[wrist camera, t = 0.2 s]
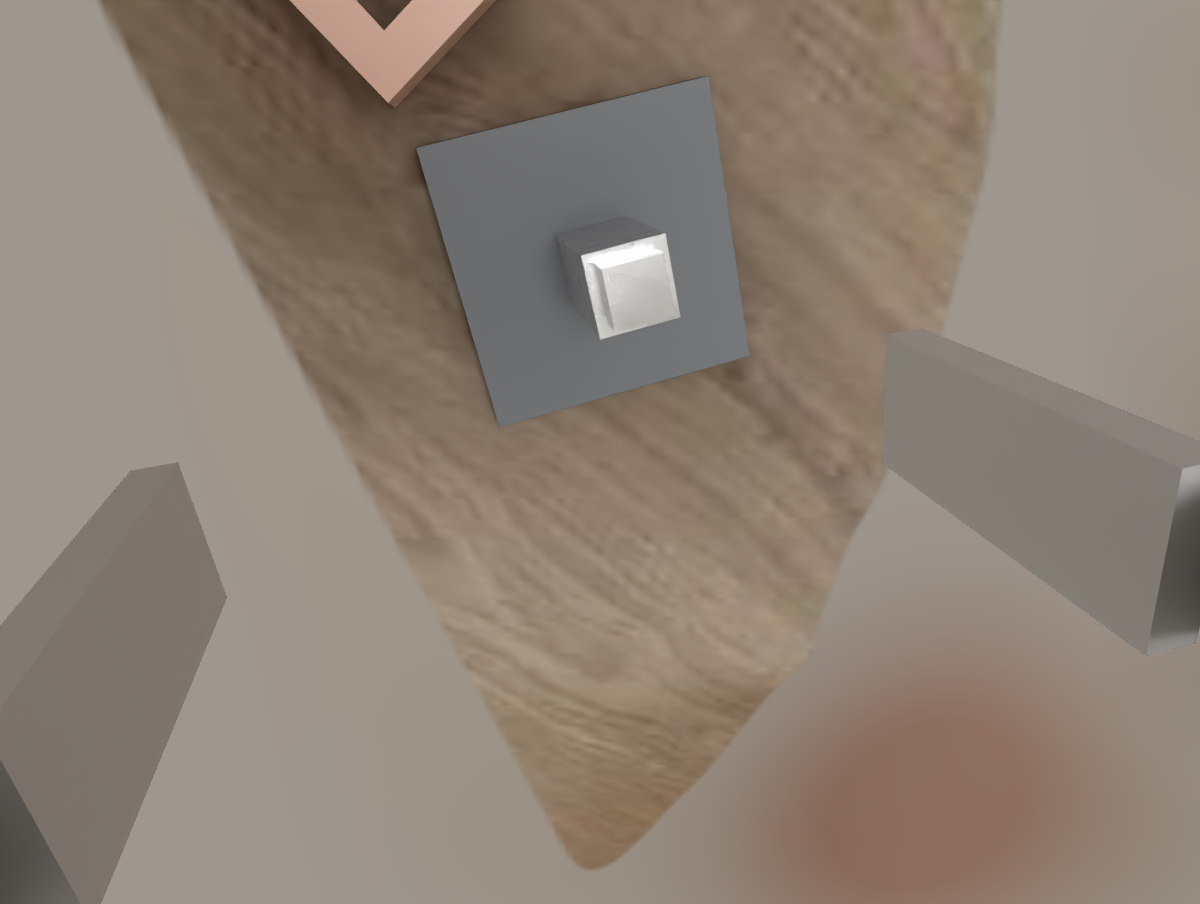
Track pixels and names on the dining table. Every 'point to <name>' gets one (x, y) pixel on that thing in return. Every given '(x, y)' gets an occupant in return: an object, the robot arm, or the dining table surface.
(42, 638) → the robot arm
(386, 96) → the square open box
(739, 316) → the shaft plate
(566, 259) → the square shaft
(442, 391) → the dining table surface
